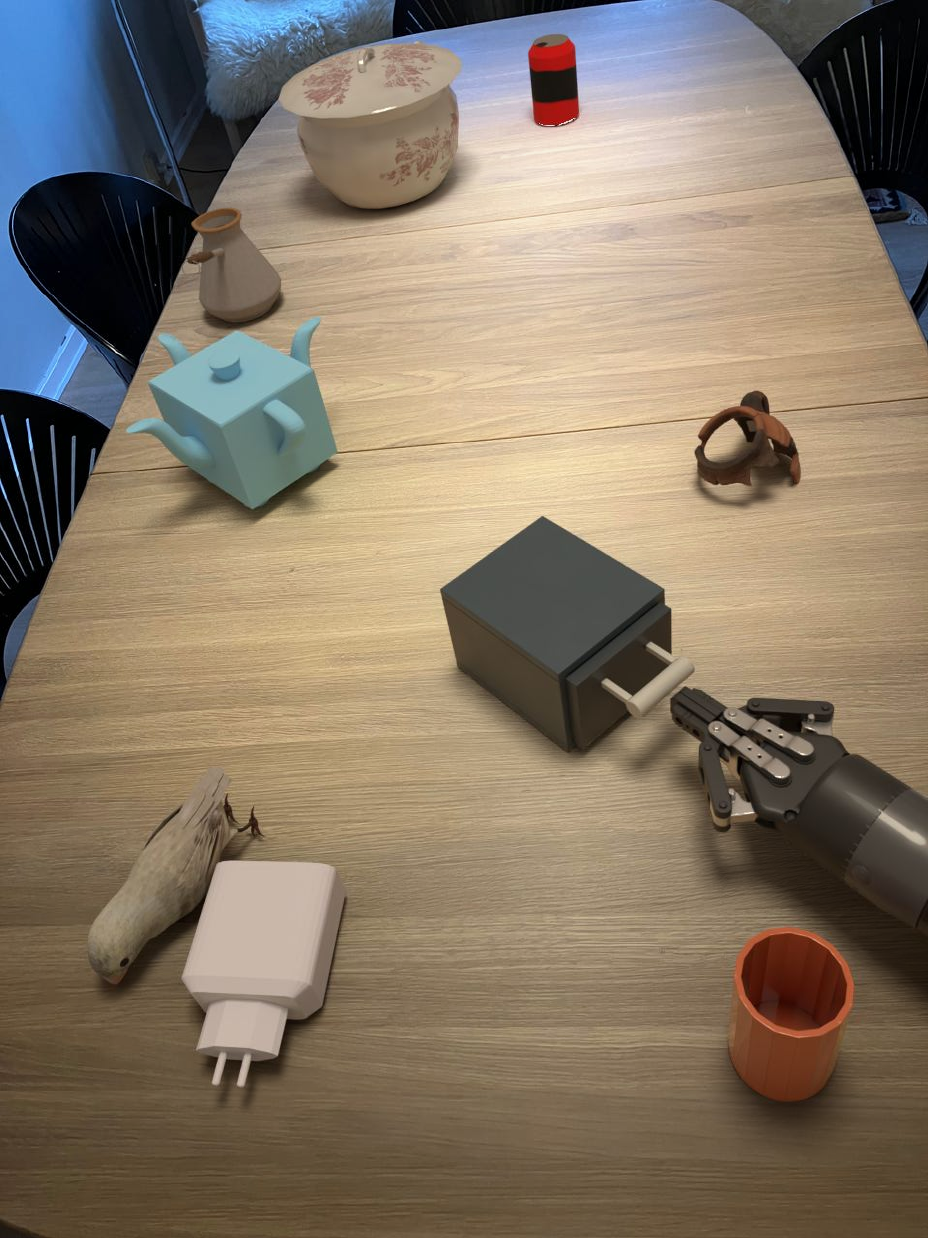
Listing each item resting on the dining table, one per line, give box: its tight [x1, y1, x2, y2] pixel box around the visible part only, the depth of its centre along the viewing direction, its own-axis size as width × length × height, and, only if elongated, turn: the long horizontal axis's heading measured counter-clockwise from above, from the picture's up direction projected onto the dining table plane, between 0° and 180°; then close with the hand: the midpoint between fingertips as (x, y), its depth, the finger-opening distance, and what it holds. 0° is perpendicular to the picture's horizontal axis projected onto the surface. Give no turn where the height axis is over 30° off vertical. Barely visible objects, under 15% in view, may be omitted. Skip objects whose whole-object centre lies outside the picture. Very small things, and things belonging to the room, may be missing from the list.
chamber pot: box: [278, 40, 463, 209], centre depth 156 cm, size 28×28×21 cm
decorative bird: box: [86, 765, 266, 985], centre depth 76 cm, size 5×16×8 cm, turn 148°
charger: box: [181, 860, 347, 1089], centre depth 71 cm, size 5×9×15 cm
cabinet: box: [439, 515, 666, 753], centre depth 86 cm, size 14×12×10 cm
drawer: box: [565, 602, 696, 750], centre depth 84 cm, size 17×11×8 cm, turn 41°
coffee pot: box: [181, 207, 282, 323], centre depth 134 cm, size 21×12×15 cm, turn 179°
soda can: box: [527, 33, 580, 125], centre depth 169 cm, size 8×8×12 cm
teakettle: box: [125, 316, 339, 510], centre depth 111 cm, size 19×19×15 cm
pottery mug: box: [694, 390, 802, 487], centre depth 103 cm, size 12×10×8 cm
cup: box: [727, 926, 855, 1103], centre depth 62 cm, size 6×6×10 cm
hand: (677, 699), depth 77 cm, fingers closed
